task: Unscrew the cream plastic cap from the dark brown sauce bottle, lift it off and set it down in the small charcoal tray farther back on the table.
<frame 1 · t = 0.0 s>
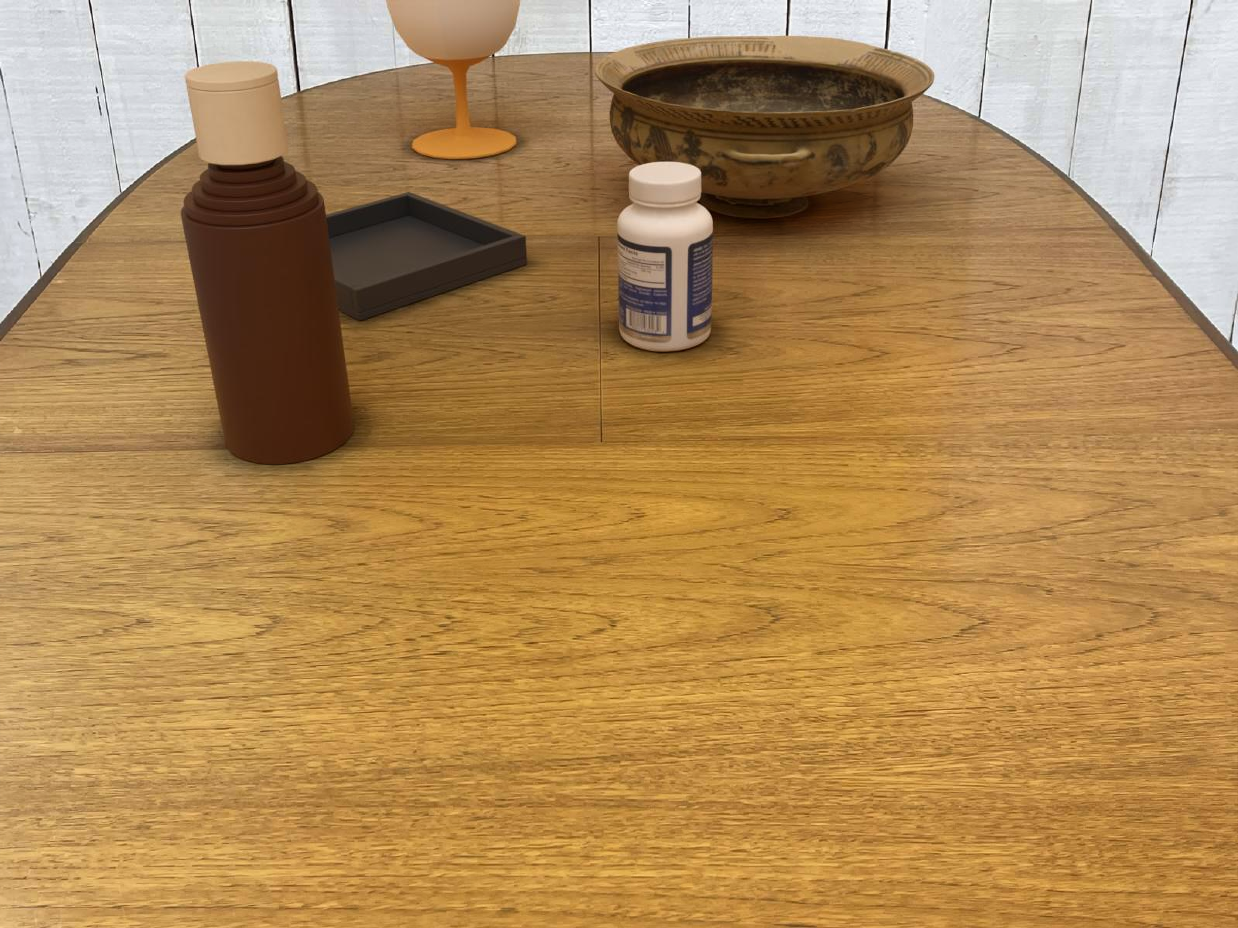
ceramic bowl: (756, 204, 94), on the table
sauce bottle: (290, 433, 64), on the table
tray: (388, 264, 84), on the table
cap: (232, 80, 55), point 18 cm above the table, screwed on, not yet turned
cup: (464, 146, 108), on the table
pill bottle: (664, 337, 74), on the table
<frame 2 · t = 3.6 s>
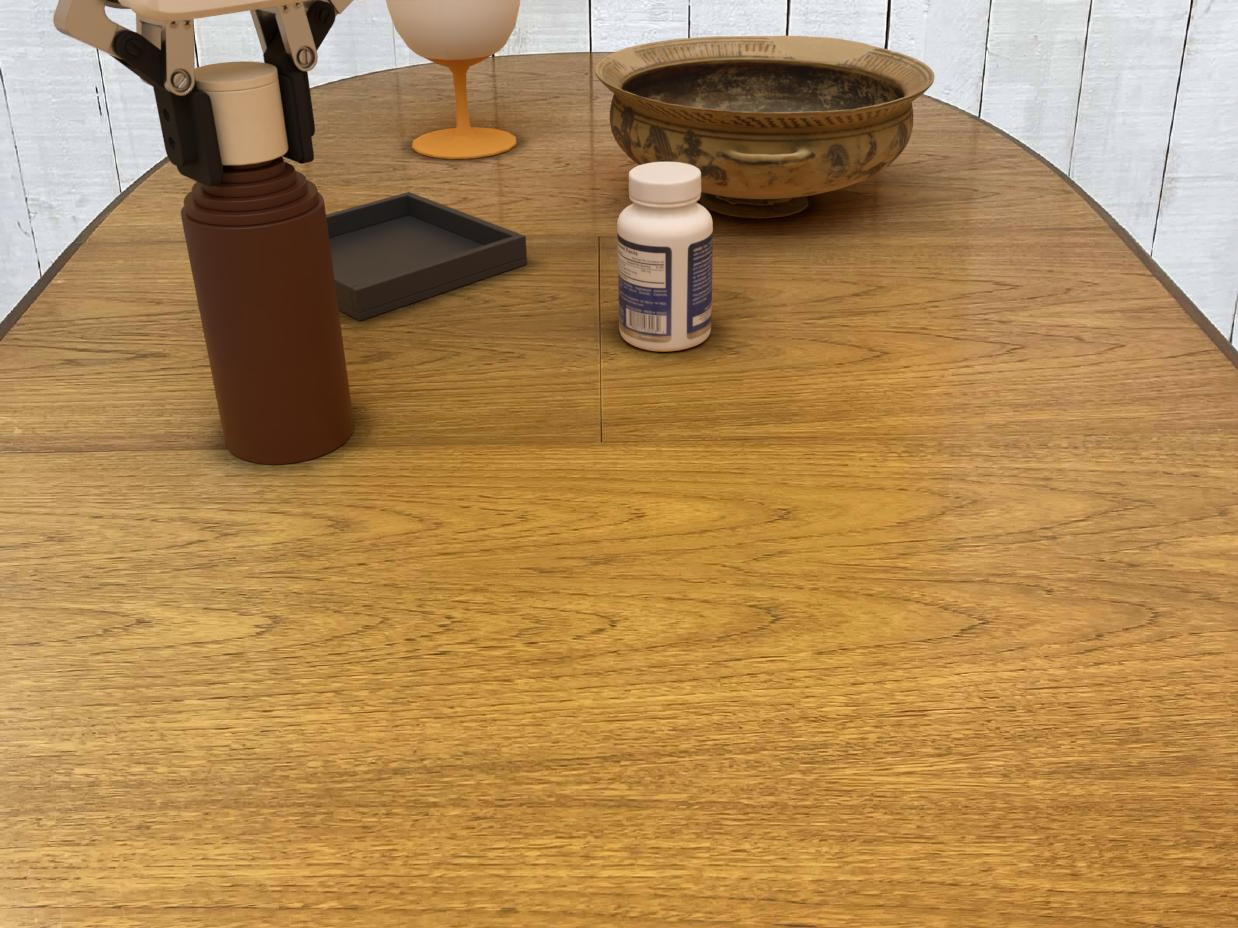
hand: (246, 163, 57), 14 cm above the table, tool pointing down, fingers closed on cap, 3 cm apart
cap: (232, 80, 55), point 18 cm above the table, screwed on, not yet turned, touching gripper
everything else where it was.
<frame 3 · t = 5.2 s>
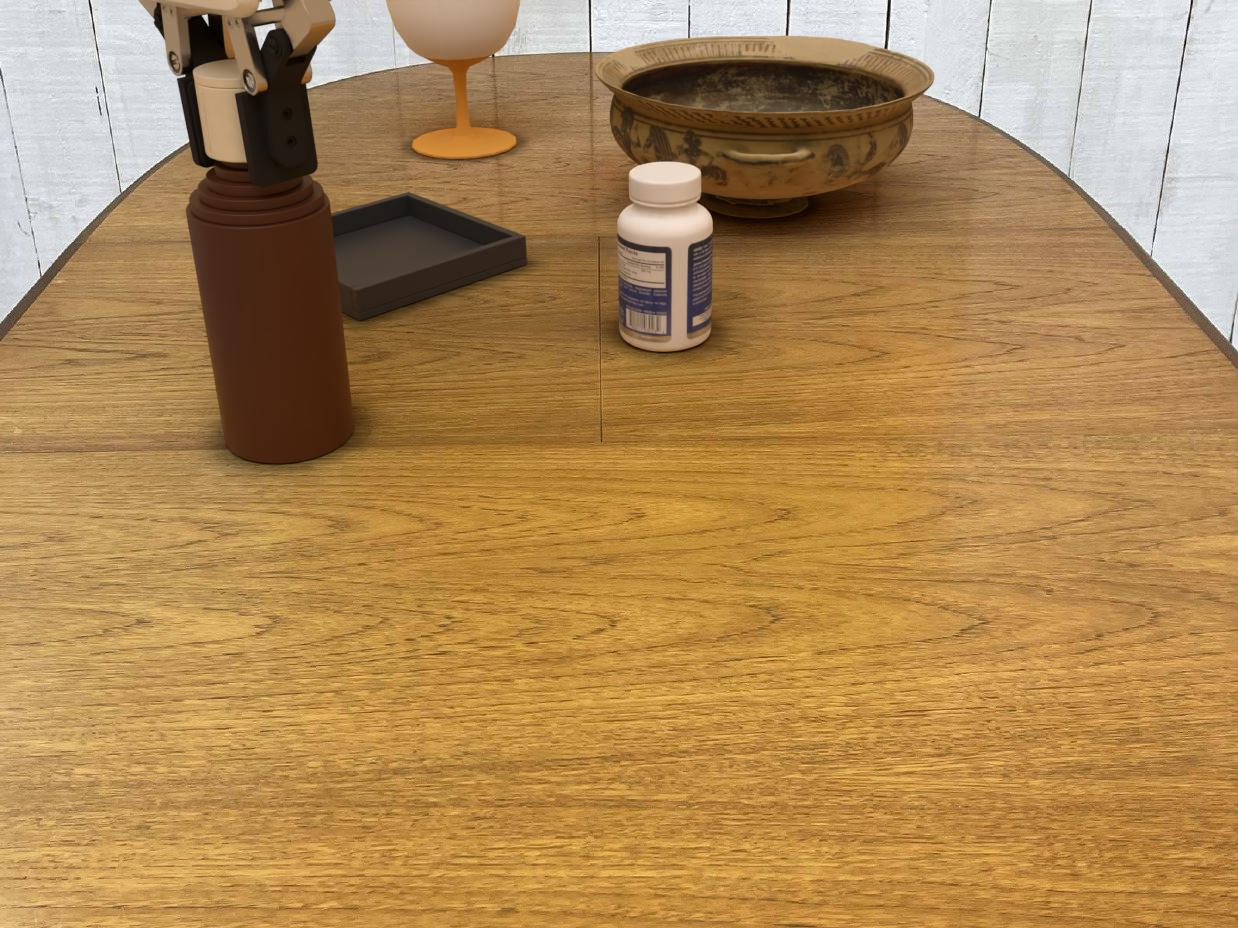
hand: (255, 165, 57), 14 cm above the table, tool pointing down, fingers closed on cap, 3 cm apart
cap: (240, 77, 55), point 18 cm above the table, turned 93° so far, risen 0.1 cm, still on its thread, touching gripper
everything else where it was.
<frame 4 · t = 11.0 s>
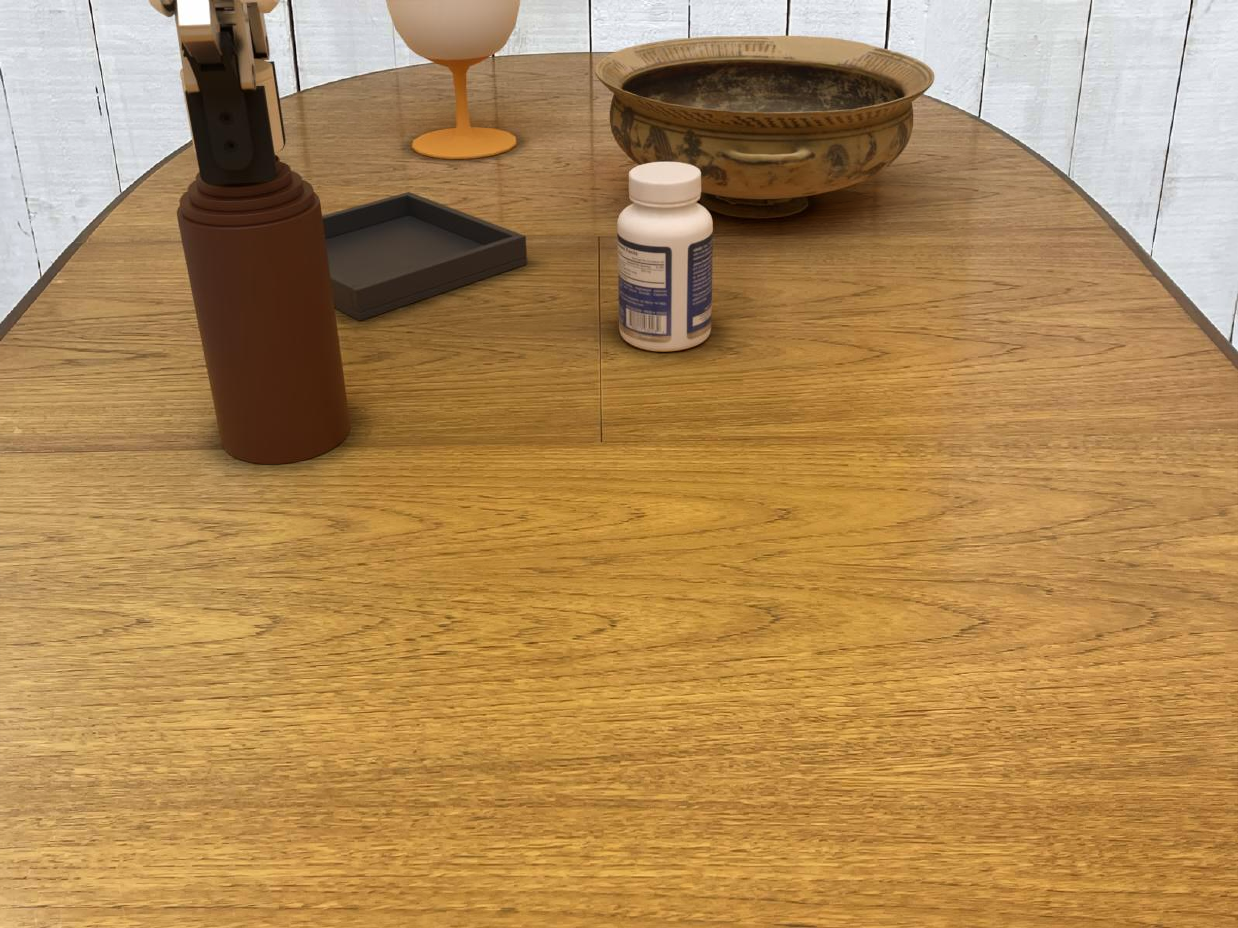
hand: (245, 161, 57), 14 cm above the table, tool pointing down, fingers closed on cap, 3 cm apart
cap: (227, 77, 55), point 18 cm above the table, turned 147° so far, risen 0.1 cm, still on its thread, touching gripper
everything else where it was.
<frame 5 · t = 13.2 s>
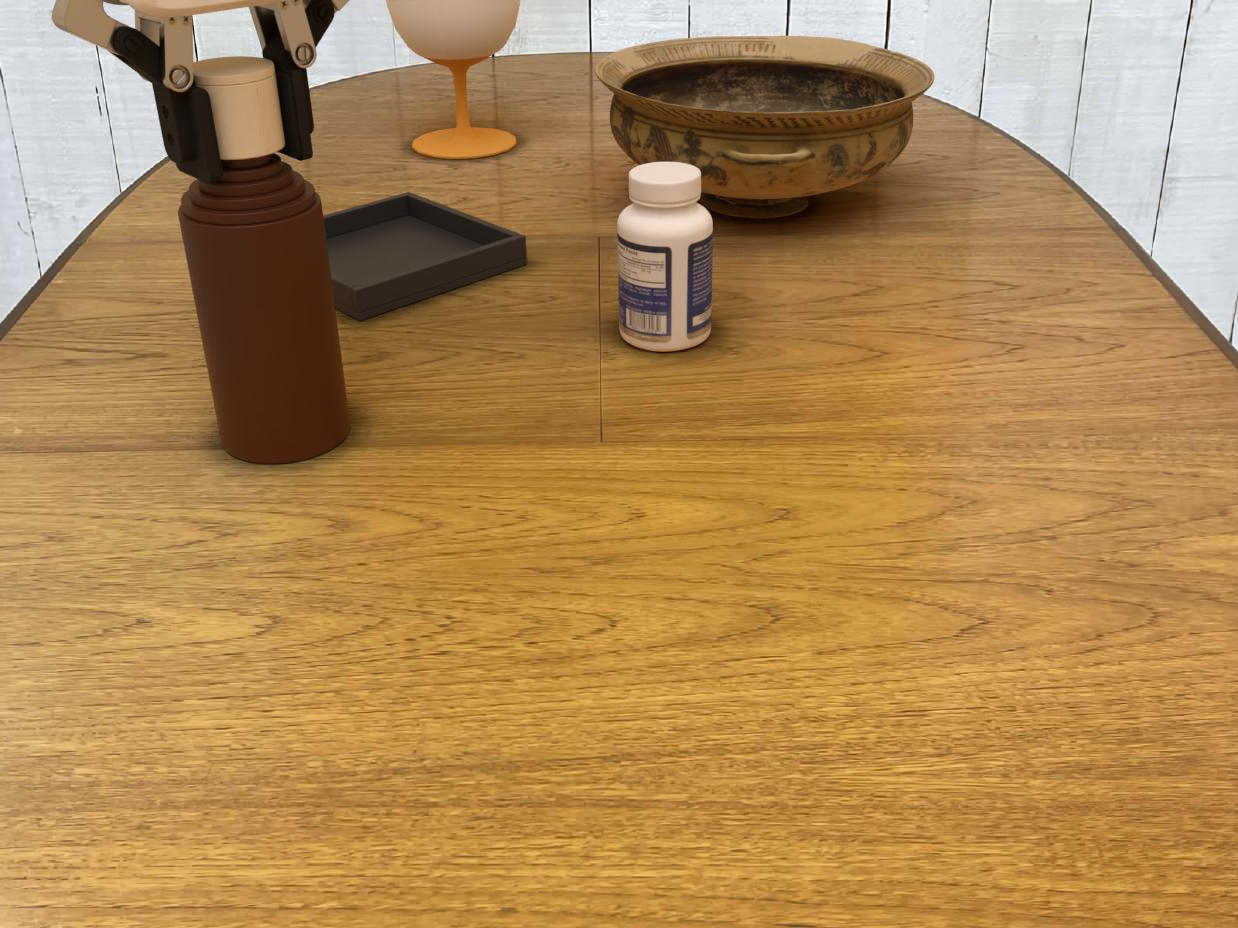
hand: (245, 160, 57), 14 cm above the table, tool pointing down, fingers closed on cap, 3 cm apart
cap: (229, 75, 55), point 18 cm above the table, turned 186° so far, risen 0.2 cm, still on its thread, touching gripper
everything else where it was.
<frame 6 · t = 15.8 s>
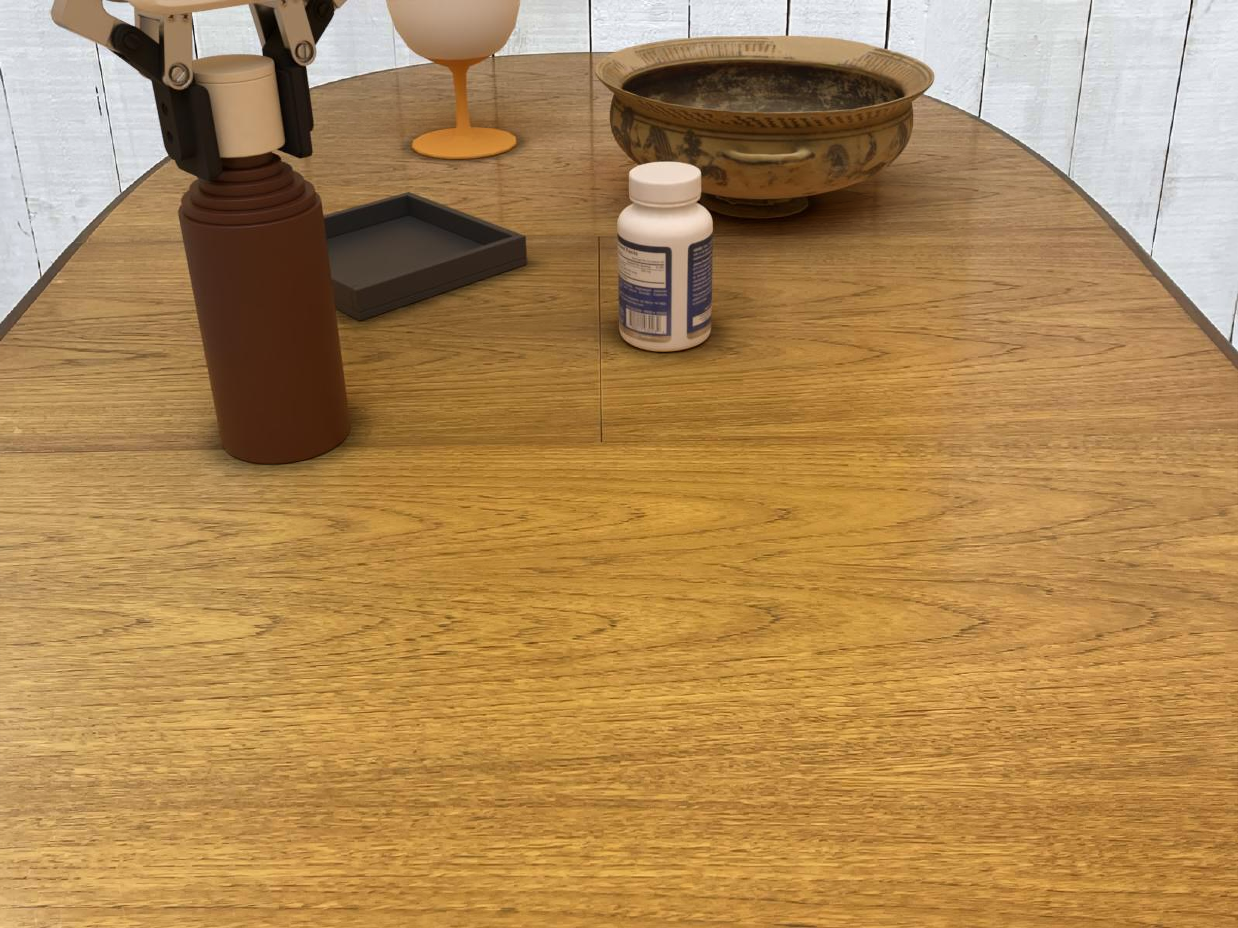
hand: (244, 158, 57), 14 cm above the table, tool pointing down, fingers closed on cap, 3 cm apart
cap: (229, 73, 55), point 18 cm above the table, turned 279° so far, risen 0.3 cm, still on its thread, touching gripper
everything else where it was.
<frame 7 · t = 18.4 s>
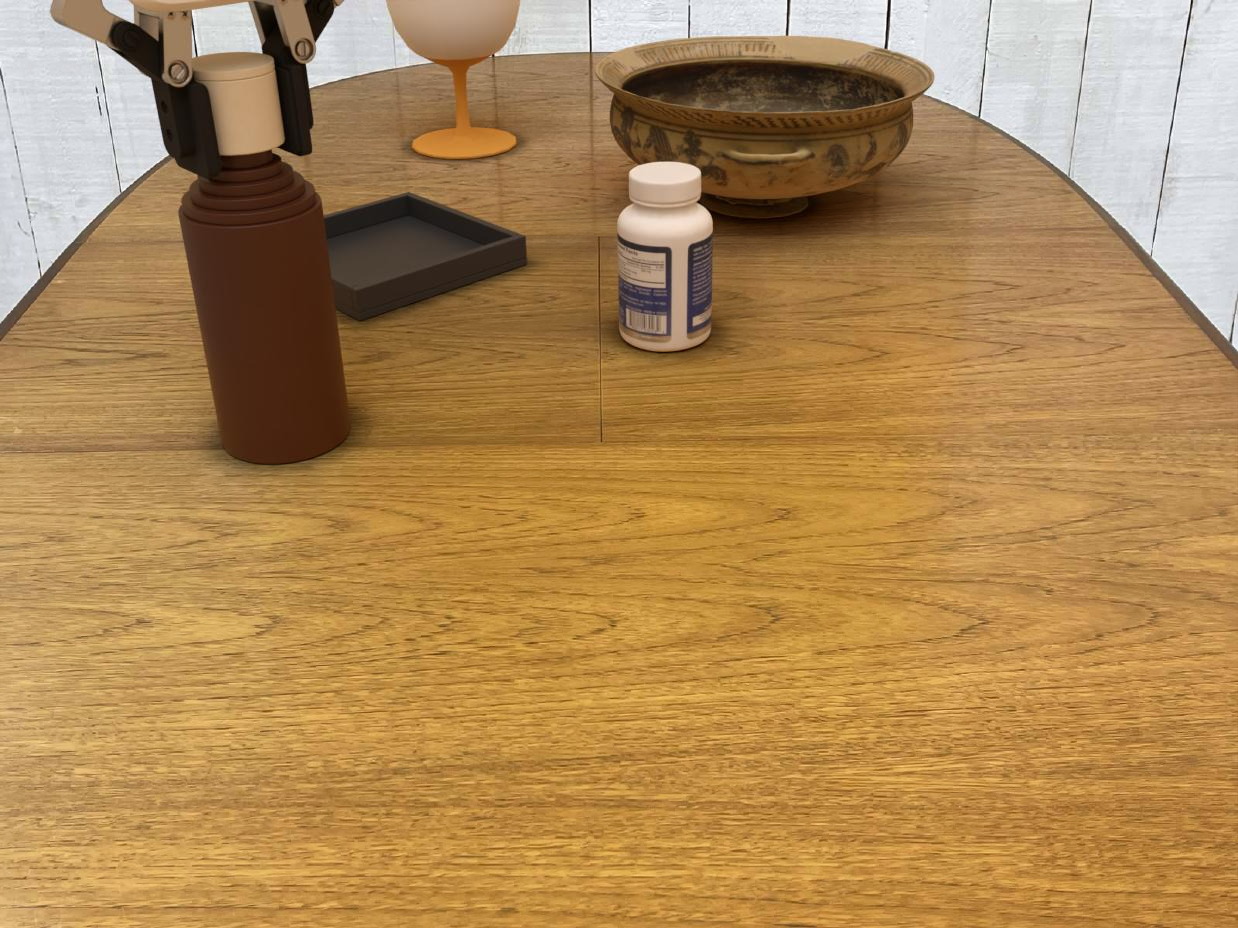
hand: (244, 156, 57), 14 cm above the table, tool pointing down, fingers closed on cap, 3 cm apart
cap: (229, 70, 55), point 18 cm above the table, turned 373° so far, risen 0.4 cm, still on its thread, touching gripper
everything else where it was.
when the fingers open (2 cm above the table, at t = 28.8 s): cap drops 2 cm, resting on tray.
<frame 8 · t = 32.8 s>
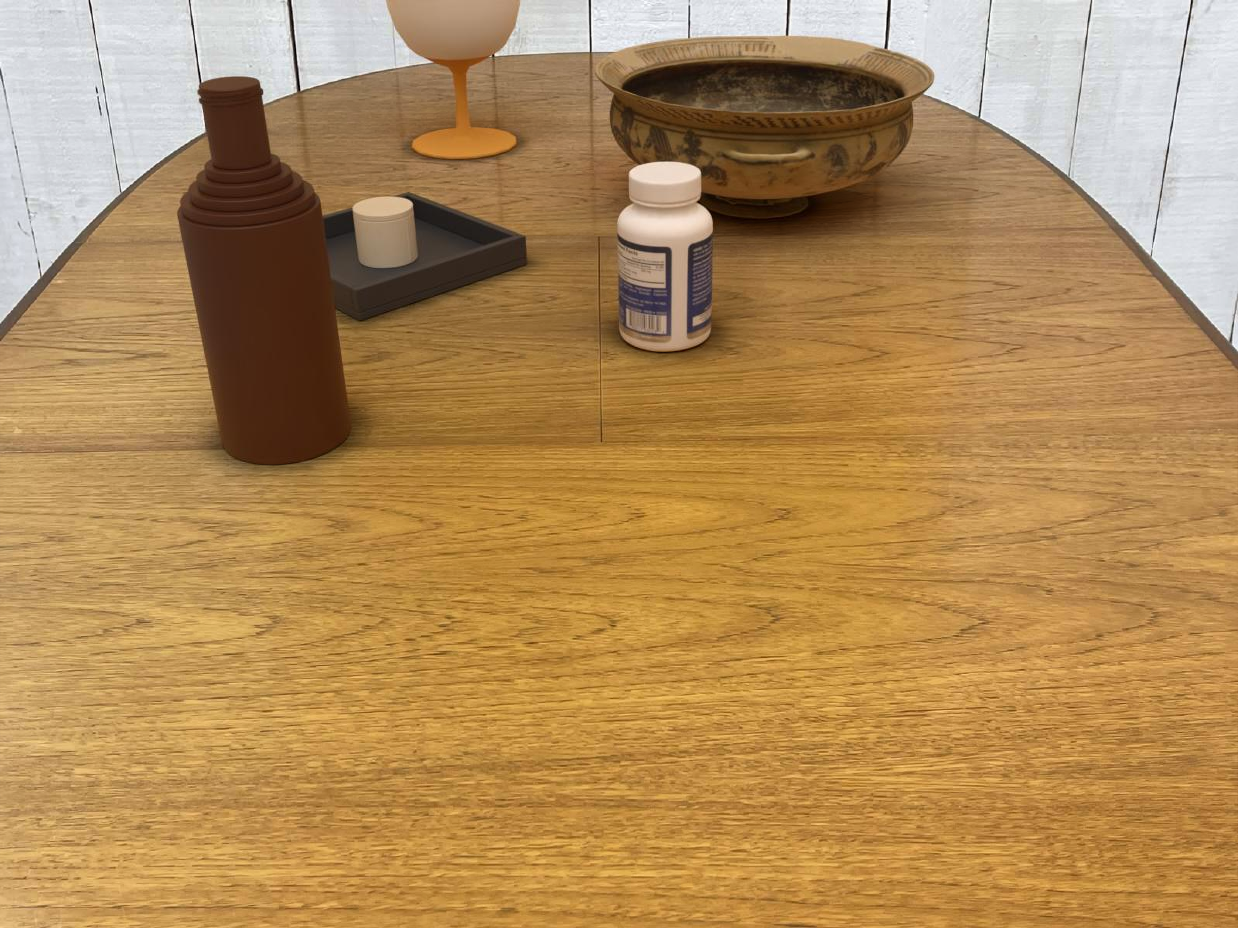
cap: (383, 211, 82), point 4 cm above the table, off its thread, touching tray
everything else where it was.
at the end: cap came off its thread; cap inside the target area on the tray (0.1 cm from its centre), point 3.7 cm above the tray's base; the gripper is holding nothing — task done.
